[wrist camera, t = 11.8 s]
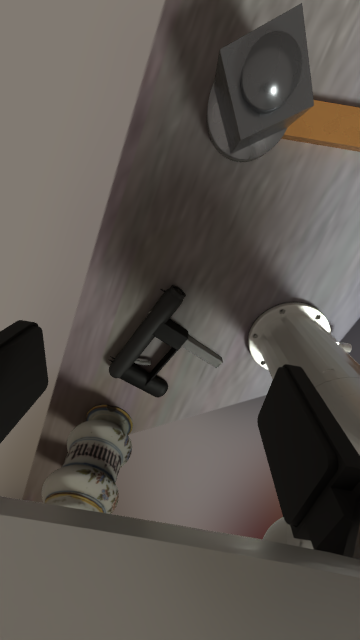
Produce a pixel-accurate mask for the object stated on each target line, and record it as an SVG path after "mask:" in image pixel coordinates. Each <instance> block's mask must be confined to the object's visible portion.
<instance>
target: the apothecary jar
mask: <svg viewBox="0 0 360 640" xmlns="http://www.w3.org/2000/svg"><path fill="white" fill-rule="evenodd" d="M132 427H133V423H132V420H131V418H130V416H129V415H128V414H127V413H126V412H125V411H123V410H122V409H120V408H118V407H109V406H108V405H99V406H96V407H94V408H92V409H91V410H90V411H89V412H88V413H87V417H86V422H83V423H81V424H79V425H78V426H76V427H75V428H74V429H73V430H72V431H71V433H70V435H69V437H68V440H67V450H68V454H67V456H66V458H65V460H64V463H63V465H62V467H61V468H59V469H57V470H56V471H54V472H53V473H51V474H50V475H49V476H48V478H47V479H46V481H45V482H44V485H43V488H42V499H43V502H44V503H46V504H52V505H58V506H64V507H70V508H76V509H82V510H88V511H95V512H101V513H107V514H111V513H112V512H113V510H114V509H115V507H116V505H117V502H118V489H117V486H116V484H115V482H116V479H117V475H118V472H119V469H120V467H122V466H123V465H124V464H125V463H126V462H127V461H128V459H129V457H130V454H131V450H132V445H131V441H130V438H129V436H128V434H129V433H130V432H131V430H132Z"/></svg>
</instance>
